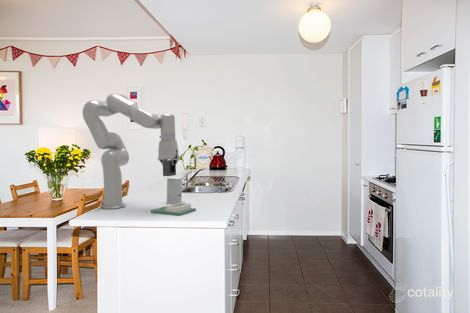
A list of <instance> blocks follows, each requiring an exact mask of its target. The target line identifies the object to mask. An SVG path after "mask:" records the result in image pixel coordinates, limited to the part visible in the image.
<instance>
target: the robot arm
mask: <svg viewBox="0 0 470 313" xmlns="http://www.w3.org/2000/svg"><path fill="white" fill-rule="evenodd" d="M105 100H106V101H103V100H97V99H91V100H88V101H87V102H86V103H85V104H84V105H83V108H82V118H83V120H84V122H85V125H86V126H87V128H88V130H89V132H90V133H91V136H92V138H93V140H94V143H95V144H96V146H97V147H98V149H99V150H106V151H103V153H102V155H101V158H100V159H101V160H100V162H101V166H102V173H103V198H102V199H100V201H99V202H100V203H102V204H101V209H104V210H114V209H122V208H124V207H126V203H123V182H122V181H123V179H122V177H123V176H122V170H121V167H122V166H125V165H127V164H128V163H129V161H130V155H129V152H128V149H127V147H126V146H125V143H124V141H123V139H122V138H121V136H120V135H119V134H117V133H116V132H114V131H113V132H111V131H110V132H109V131H108V129H107V127H106V124H105V123H104V121H103V120H102V119H101V118H100V117H110V116H113V115H115V114H119V113H120V114H121V115H124V116H125V117H127V118H128V119H129V120H131V122H134V123H136V124H138V125H139V126H141V127H144V128H145V129H153V130H154V129H155V130H157V129H160V135H159V139H160V140H159V144H158V154H157V155H158V157H157V160H158V161H159V162H160V163H161V165H162V166H163V161H165V160H171V164H172V165H171V173H175V170H176V171H177V168H176V169H175V165H177V163H178V162H179V161H180V160H181V157H180V155H179V146H178V142H177V139H176V118H175V115H174V114H173V113H164V114H157V113H156V114H155V113H149V112H146V111H145V110H143V109H141V108H139V106H138V104H137V103H136V102H135V101H133V100H130V98H129V97H128V96H127V95H124V94H119V93H110V94H109V95H108V96H107V97H106V99H105Z"/></svg>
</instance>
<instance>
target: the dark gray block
mask: <svg viewBox="0 0 470 313" xmlns="http://www.w3.org/2000/svg"><path fill="white" fill-rule="evenodd" d="M171 165H172V164H171V159H167V160H165V161H163V165H162V175H163V177H172V176H173V177H174V176H177V167H176V165H177V164H176V165H175V169H176V170H175V173H171Z"/></svg>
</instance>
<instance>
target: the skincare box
mask: <svg viewBox="0 0 470 313" xmlns="http://www.w3.org/2000/svg"><path fill="white" fill-rule="evenodd" d="M166 181H167V182H166V204H168V205H172V204H176V203H183V202H182V198H183V197H182V195H183V194H182V193H183V192H182V191H183V177H174V176H173V177H172V176H168V177H167V180H166Z"/></svg>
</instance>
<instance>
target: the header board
mask: <svg viewBox="0 0 470 313" xmlns="http://www.w3.org/2000/svg"><path fill="white" fill-rule="evenodd" d="M196 211H197V209H196V208H194V207H192V203H187V202H181V203H176V204H168V205H165V206H162V207H158V208H154V209H152V210H150V213H151V214H160V215H161V214H162V215H168V214H169V215H171V216H176V217H180V216H184V215H186V214H189V213H193V212H196Z"/></svg>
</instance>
